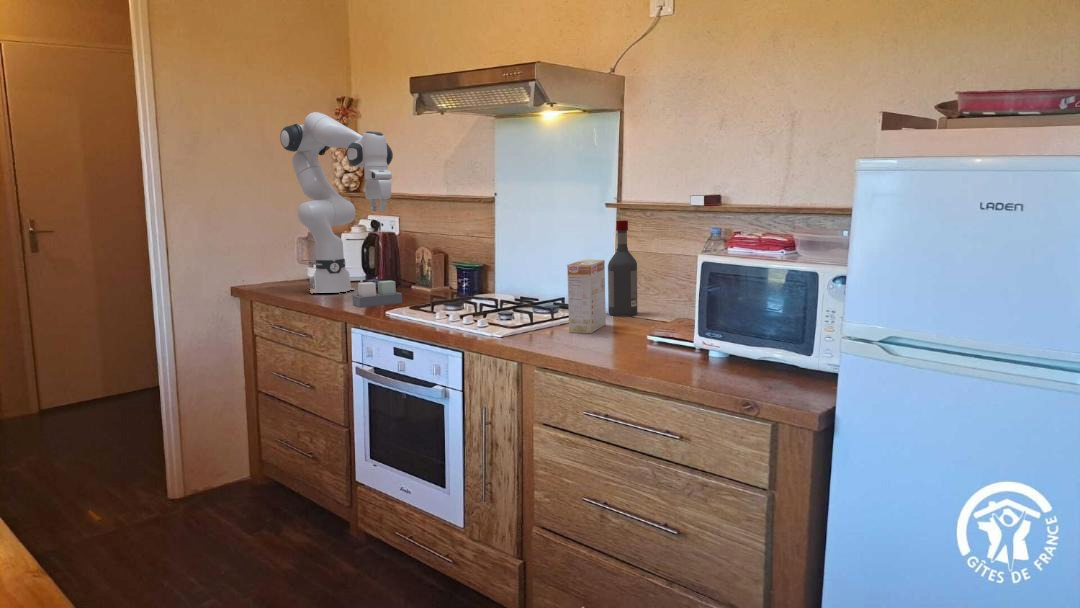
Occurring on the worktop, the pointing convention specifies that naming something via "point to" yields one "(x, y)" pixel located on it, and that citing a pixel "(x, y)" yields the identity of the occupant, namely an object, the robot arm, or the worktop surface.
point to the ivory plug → (367, 289)
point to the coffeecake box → (586, 295)
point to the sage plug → (386, 287)
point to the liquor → (622, 277)
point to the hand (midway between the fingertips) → (378, 211)
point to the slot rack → (377, 300)
